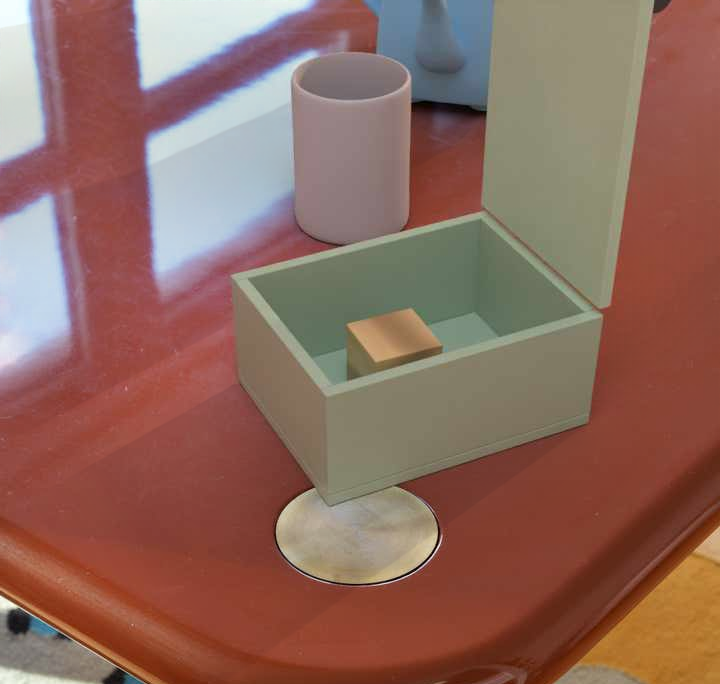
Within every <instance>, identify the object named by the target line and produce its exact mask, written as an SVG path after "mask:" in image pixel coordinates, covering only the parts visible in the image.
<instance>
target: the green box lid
mask: <svg viewBox="0 0 720 684" xmlns="http://www.w3.org/2000/svg"><path fill="white" fill-rule="evenodd" d="M671 2H672V0H494V11H493V26H492V42H491V57H490V73H489V88H488V104H487V111H486V119H485V121H486V122H485V138H484V149H483V151H484V153H483V169H482V183H481V197H480V198H481V199H480V205H481V206H482V207H483V208H484V209H485V211H487V212H488V213H489V214H490V215H491V216H492V217H493V218H495V219H496V220H497V221H498V222H499V223H500V224H501V225H502V226H504V227H505V228H506V229H507V230H508V231H509V232H510V233H511V234H513V235H514V236H515V237H516V238H517V239H518V240H519V241H520V242H522V243H523V244H524V245H525V246H526V247H527V248H528V249H529V250H531V251H532V252H533V253H534V254H535V255H536V256H537V257H539V258H540V259H541V260H542V261H543V262H544V263H545V264H546V265H548V266H549V267H550V268H551V269H552V270H553V271H554V272H555V273H557V274H558V275H559V276H560V277H561V278H562V279H563V280H564V281H566V282H567V283H568V284H569V285H570V286H571V287H572V288H574V289H575V290H576V291H577V292H578V293H579V294H580V295H581V296H583V297H584V298H585V299H586V300H587V301H588V302H589V303H590V304H592V305H593V306H594V307H595V308H596V309H597V310H603V309H606V308H609V307H611V305H612V297H613V291H614V283H615V277H616V272H617V271H616V270H617V263H618V256H619V249H620V242H621V235H622V227H623V222H624V221H623V220H624V215H625V207H626V202H627V201H626V200H627V194H628V186H629V178H630V174H631V173H630V172H631V165H632V160H633V159H632V158H633V152H634V145H635V138H636V129H637V124H638V118H639V110H640V104H641V97H642V96H641V95H642V89H643V83H644V74H645V68H646V60H647V55H648V47H649V41H650V35H651V34H650V33H651V26H652V20H653V19H652V18H653V15H655V14H659V13H661V12H662V11H664V10H665V9H666V8H667V7H668V6H669V5H670V4H671Z"/></svg>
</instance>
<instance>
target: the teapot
mask: <svg viewBox="0 0 720 684" xmlns="http://www.w3.org/2000/svg"><path fill="white" fill-rule="evenodd" d="M361 2H362V3H363V4H364V5H365V7H367V8H368V10H369V11H370V12H371V13H372V14H373V15H374V17H375V18H376V19H377V20H378V25H377V36H376V51H375V54H377V55H381V56H385V57H388V58H391V59H393V60H396V61H397V62H399V63H401V64H402V65H404V66H405V67H406V68H407V70H408V71H409V73H410V76H411V103H418V102H422V101H429V102H436V103H445V104H454V105H463V106H469V107H470V108H472V109H473V110H475V111H481V112H487V104H488V88H489V73H490V57H491V42H492V26H493V11H494V0H361Z"/></svg>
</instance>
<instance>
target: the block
mask: <svg viewBox="0 0 720 684" xmlns="http://www.w3.org/2000/svg"><path fill="white" fill-rule="evenodd" d="M346 341H347V381H350V380H353V379H357V378H360V377H364V376H367V375H370V374H374V373H377V372H381V371H384V370H388V369H391V368H395V367H398V366H402V365H405V364H409V363H412V362H415V361H419V360H422V359H426V358H429V357H433V356H436V355H440V354H442V350H443V345H442V343H441V342H440V341H439V340H438V339H437V337H436V336H435V335H434V334H433V333H432V332H431V330H430V329H429V328H428V327H427V326H426V325H425V323H424V322H423V321H422V320H421V319H420V317H419V316H418V315H417V314H416V313H415V312H414V310H413V309H412V308H409V309H405V310H401V311H397V312H393V313H389V314H385V315H381V316H376V317H372V318H368V319H364V320H360V321H356V322H352V323H348V324H346Z"/></svg>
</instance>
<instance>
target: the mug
mask: <svg viewBox="0 0 720 684" xmlns="http://www.w3.org/2000/svg"><path fill="white" fill-rule="evenodd" d="M290 97H291V121H292V122H291V125H292V126H291V127H292V145H293V146H292V149H293V150H292V152H293V154H292V155H293V178H294V180H293V182H294V214H295V221H296V224H297V225H298V227H299V228H300V229H301V230H302V231H303V233H305V234H306V235H308V236H309V237H311V238H313V239H315V240H318V241H320V242H323V243H327V244H332V245H338V246H347V245H351V244H355V243H359V242H363V241H367V240H371V239H374V238H378V237H382V236H386V235H390V234H394V233H398V232H402V230H403V229H404V228H405V226H406V225H407V223H408V220H409V216H410V164H411V163H410V162H411V156H410V155H411V124H412V123H411V122H412V121H411V120H412V102H411V76H410V73H409V71H408V70H407V68H406V67H405V66H404V65H402V64H401V63H399V62H397V61H396V60H393V59H391V58H388V57H385V56H381V55H377V54H376V53H371V52H369V53H368V52H362V51H361V52H360V51H342V52H341V51H340V52H334V53H333V52H332V53H327V54H323V55H319V56H316V57H315V56H314V57H313V58H310V59H308V60H306V61H304V62H302V63H300V64H299V65H298V66H297V67H296V68H295V69H294V71H293V72H292V75H291V79H290Z"/></svg>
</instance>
